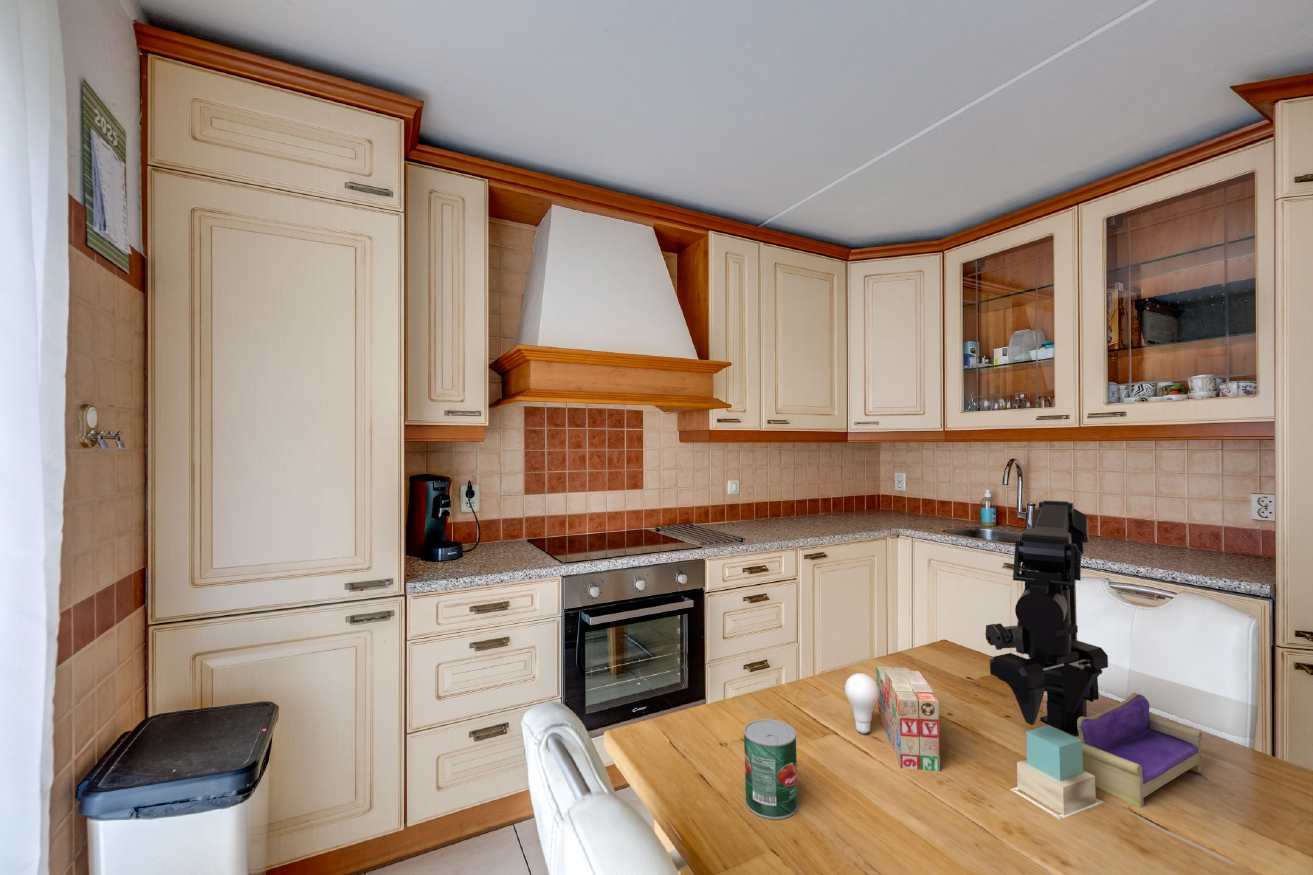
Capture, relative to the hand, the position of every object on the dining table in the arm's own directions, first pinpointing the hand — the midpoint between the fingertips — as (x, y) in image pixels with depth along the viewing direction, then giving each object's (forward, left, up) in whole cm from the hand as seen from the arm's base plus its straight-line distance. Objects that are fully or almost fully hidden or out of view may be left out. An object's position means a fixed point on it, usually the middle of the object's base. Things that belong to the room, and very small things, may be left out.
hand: (1050, 717), depth 87 cm
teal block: (+1, +1, -7) cm, 7 cm away
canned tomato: (+41, -15, -12) cm, 45 cm away
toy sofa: (-17, +2, -12) cm, 21 cm away
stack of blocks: (+8, -21, -12) cm, 26 cm away
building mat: (+1, 0, -12) cm, 12 cm away
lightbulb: (+14, -26, -12) cm, 32 cm away
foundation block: (+1, +1, -11) cm, 11 cm away
